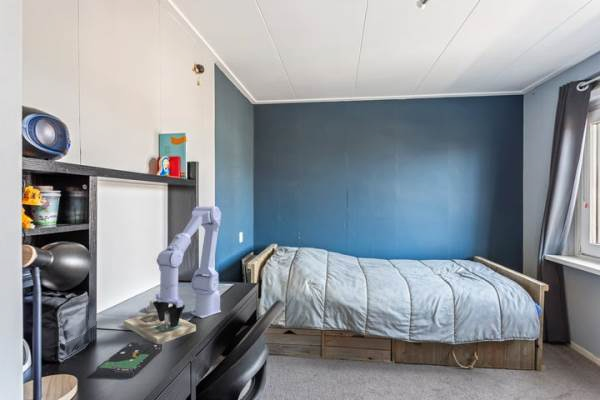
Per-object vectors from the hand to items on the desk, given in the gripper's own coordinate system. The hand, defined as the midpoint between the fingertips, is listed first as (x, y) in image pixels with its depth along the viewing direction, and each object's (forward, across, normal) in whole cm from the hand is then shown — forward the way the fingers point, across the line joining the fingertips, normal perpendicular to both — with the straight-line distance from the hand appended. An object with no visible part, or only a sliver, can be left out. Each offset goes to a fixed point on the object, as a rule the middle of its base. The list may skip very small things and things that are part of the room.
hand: (168, 323), depth 106 cm
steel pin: (+3, 0, 0) cm, 3 cm away
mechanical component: (+4, -25, +10) cm, 27 cm away
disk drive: (+4, +10, -17) cm, 20 cm away
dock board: (+3, -6, 0) cm, 7 cm away
